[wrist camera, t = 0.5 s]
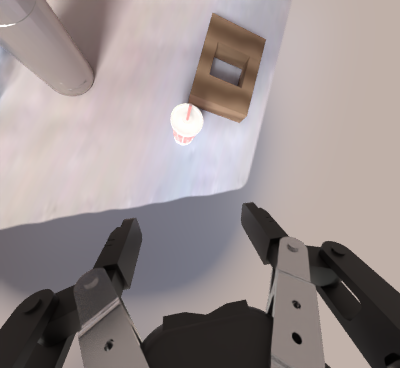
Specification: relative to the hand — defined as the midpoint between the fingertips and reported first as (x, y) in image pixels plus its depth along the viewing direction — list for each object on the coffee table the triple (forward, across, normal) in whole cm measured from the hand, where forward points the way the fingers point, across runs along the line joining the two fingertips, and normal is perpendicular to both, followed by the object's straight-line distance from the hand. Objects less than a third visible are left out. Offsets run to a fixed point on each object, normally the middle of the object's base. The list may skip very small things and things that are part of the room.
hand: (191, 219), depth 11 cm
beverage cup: (+29, -1, -1) cm, 29 cm away
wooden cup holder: (+37, -13, -14) cm, 41 cm away
